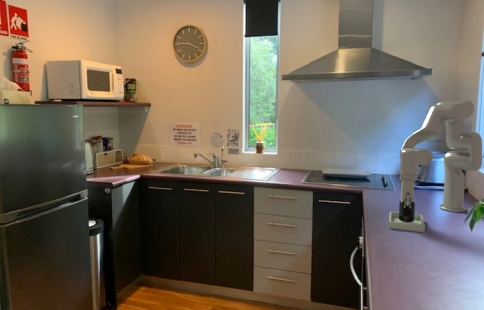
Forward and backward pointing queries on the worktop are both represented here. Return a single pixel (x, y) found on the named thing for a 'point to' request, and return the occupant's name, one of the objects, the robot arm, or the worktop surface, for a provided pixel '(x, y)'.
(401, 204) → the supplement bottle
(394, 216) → the tray
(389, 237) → the worktop surface
